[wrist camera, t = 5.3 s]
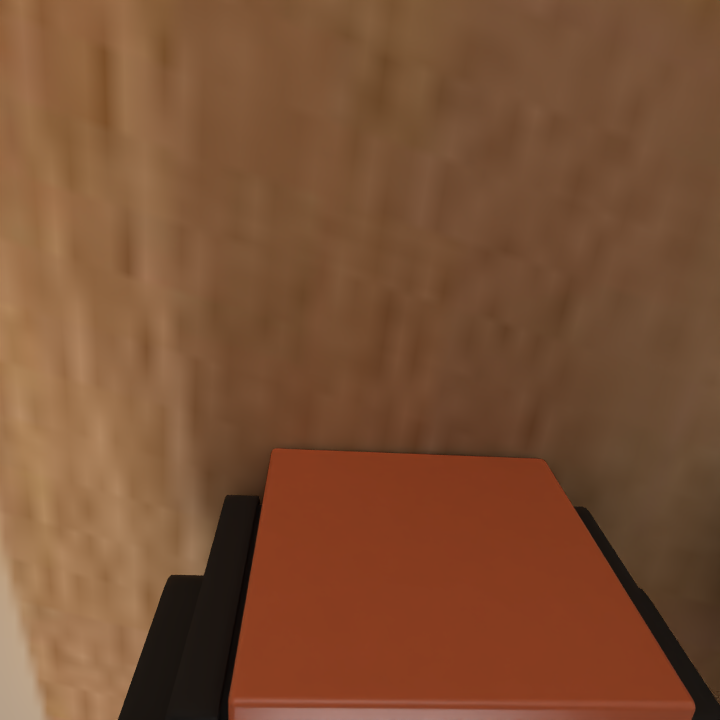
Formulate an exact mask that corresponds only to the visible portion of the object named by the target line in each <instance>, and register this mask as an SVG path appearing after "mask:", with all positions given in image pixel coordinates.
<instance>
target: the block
mask: <svg viewBox="0 0 720 720" xmlns="http://www.w3.org/2000/svg"><path fill="white" fill-rule="evenodd" d="M694 712H695V703H694V700H693V699H692V697H691V696H690V694H689V692H688V691H687V689H686V688H685V686H684V684H683V683H682V681H681V680H680V678H679V676H678V675H677V673H676V671H675V670H674V668H673V667H672V665H671V663H670V662H669V660H668V659H667V657H666V655H665V654H664V652H663V650H662V649H661V647H660V646H659V644H658V642H657V641H656V639H655V638H654V636H653V634H652V633H651V631H650V629H649V628H648V626H647V625H646V623H645V621H644V620H643V618H642V617H641V615H640V613H639V612H638V610H637V609H636V607H635V605H634V604H633V602H632V600H631V599H630V597H629V596H628V594H627V592H626V591H625V589H624V588H623V586H622V584H621V583H620V581H619V579H618V578H617V576H616V575H615V573H614V571H613V570H612V568H611V567H610V565H609V563H608V562H607V560H606V558H605V557H604V555H603V554H602V552H601V550H600V549H599V547H598V546H597V544H596V542H595V541H594V539H593V538H592V536H591V534H590V533H589V531H588V529H587V528H586V526H585V525H584V523H583V521H582V520H581V518H580V517H579V515H578V513H577V512H576V510H575V508H574V507H573V505H572V504H571V502H570V500H569V499H568V497H567V496H566V494H565V492H564V491H563V489H562V487H561V486H560V484H559V483H558V481H557V479H556V478H555V476H554V475H553V473H552V471H551V470H550V468H549V466H548V465H547V463H546V462H545V460H543V459H535V458H509V457H483V456H458V455H432V454H407V453H381V452H355V451H330V450H304V449H278V448H276V449H273V450H272V452H271V457H270V463H269V468H268V474H267V480H266V486H265V492H264V497H263V503H262V509H261V515H260V520H259V526H258V532H257V538H256V543H255V549H254V555H253V561H252V566H251V572H250V578H249V584H248V589H247V595H246V601H245V607H244V612H243V618H242V624H241V630H240V635H239V641H238V647H237V653H236V658H235V664H234V670H233V676H232V681H231V687H230V693H229V699H228V720H692V717H693V715H694Z"/></svg>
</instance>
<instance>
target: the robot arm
mask: <svg viewBox="0 0 720 720" xmlns="http://www.w3.org/2000/svg"><path fill="white" fill-rule="evenodd" d="M573 507H574V506H573ZM574 508H575V510H576V512H577V513H578V515H579V517H580V518H581V520H582V521H583V523H584V525H585V526H586V528H587V529H588V531H589V533H590V534H591V536H592V538H593V539H594V541H595V542H596V544H597V546H598V547H599V549H600V550H601V552H602V554H603V555H604V557H605V558H606V560H607V562H608V563H609V565H610V567H611V568H612V570H613V571H614V573H615V575H616V576H617V578H618V579H619V581H620V583H621V584H622V586H623V588H624V589H625V591H626V592H627V594H628V596H629V597H630V599H631V600H632V602H633V604H634V605H635V607H636V609H637V610H638V612H639V613H640V615H641V617H642V618H643V620H644V621H645V623H646V625H647V626H648V628H649V629H650V631H651V633H652V634H653V636H654V638H655V639H656V641H657V642H658V644H659V646H660V647H661V649H662V650H663V652H664V654H665V655H666V657H667V659H668V660H669V662H670V663H671V665H672V667H673V668H674V670H675V671H676V673H677V675H678V676H679V678H680V680H681V681H682V683H683V684H684V686H685V688H686V689H687V691H688V692H689V694H690V696H691V697H692V699H693V700H694V703H695V712H694V715H693V717H692V720H720V705H719V703H718V702H717V700H716V699H715V697H714V696H713V694H712V693H711V691H710V690H709V688H708V687H707V685H706V684H705V682H704V681H703V679H702V678H701V676H700V675H699V673H698V672H697V670H696V669H695V667H694V665H693V664H692V662H691V661H690V659H689V658H688V656H687V655H686V653H685V652H684V650H683V649H682V647H681V646H680V644H679V643H678V641H677V640H676V638H675V637H674V635H673V634H672V632H671V631H670V629H669V627H668V626H667V624H666V623H665V621H664V620H663V618H662V617H661V615H660V614H659V612H658V611H657V609H656V608H655V606H654V605H653V603H652V602H651V600H650V599H649V597H648V596H647V595H646V594H645V592H644V591H643V590H642V589H640V588H638V586H637V585H636V583H635V582H634V580H633V578H632V577H631V575H630V574H629V572H628V571H627V569H626V568H625V566H624V565H623V563H622V562H621V560H620V558H619V557H618V555H617V554H616V552H615V551H614V549H613V548H612V546H611V545H610V543H609V542H608V540H607V538H606V537H605V535H604V534H603V532H602V531H601V529H600V528H599V526H598V525H597V523H596V522H595V520H594V518H593V517H592V515H591V514H590V512H589V511H588V510H587V509H586V508H584V507H574ZM261 509H262V505H260V499H259V496H244V495H227V496H226V497H225V500H224V504H223V508H222V511H221V515H220V519H219V522H218V526H217V530H216V533H215V537H214V541H213V544H212V548H211V552H210V555H209V559H208V563H207V566H206V570H205V574H204V576H196V575H171V576H170V577H169V578H168V580H167V582H166V585H165V587H164V590H163V593H162V596H161V598H160V601H159V604H158V607H157V610H156V613H155V616H154V618H153V621H152V624H151V627H150V630H149V633H148V636H147V638H146V641H145V644H144V647H143V650H142V653H141V656H140V658H139V661H138V664H137V667H136V670H135V673H134V676H133V678H132V681H131V684H130V687H129V690H128V693H127V696H126V698H125V701H124V704H123V707H122V710H121V713H120V716H119V718H118V720H228V699H229V693H230V687H231V681H232V676H233V670H234V664H235V658H236V653H237V647H238V641H239V635H240V630H241V624H242V618H243V612H244V607H245V601H246V595H247V589H248V584H249V578H250V572H251V566H252V561H253V555H254V549H255V543H256V538H257V532H258V526H259V520H260V515H261Z"/></svg>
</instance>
